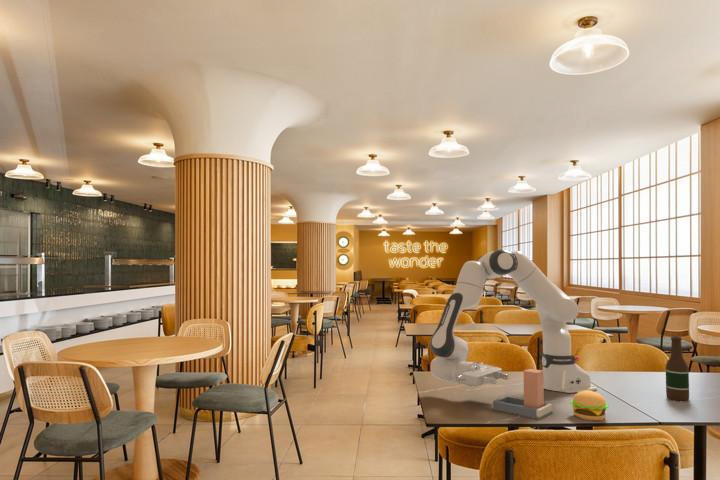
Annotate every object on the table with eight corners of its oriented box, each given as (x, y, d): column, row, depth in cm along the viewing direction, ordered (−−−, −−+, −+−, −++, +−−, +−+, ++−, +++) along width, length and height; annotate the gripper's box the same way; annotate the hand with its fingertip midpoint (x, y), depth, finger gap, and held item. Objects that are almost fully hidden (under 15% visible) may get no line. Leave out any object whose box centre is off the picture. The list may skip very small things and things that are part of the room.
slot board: (492, 409, 185) (492, 401, 185) (506, 403, 193) (506, 395, 193) (540, 419, 173) (539, 410, 173) (552, 412, 181) (552, 404, 181)
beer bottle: (686, 397, 202) (685, 335, 203) (692, 402, 195) (690, 338, 196) (664, 395, 205) (662, 334, 206) (668, 400, 197) (667, 337, 198)
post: (524, 411, 180) (523, 370, 181) (530, 408, 184) (529, 368, 184) (537, 414, 177) (537, 372, 177) (543, 411, 180) (543, 370, 181)
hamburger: (613, 416, 177) (612, 390, 178) (603, 424, 168) (602, 397, 169) (577, 409, 185) (576, 385, 186) (565, 417, 176) (565, 391, 176)
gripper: (454, 369, 191) (487, 375, 181) (481, 361, 206) (514, 366, 196) (454, 386, 190) (488, 393, 181) (481, 377, 205) (514, 383, 196)
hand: (502, 379), depth 189 cm, fingers open, 8 cm apart
